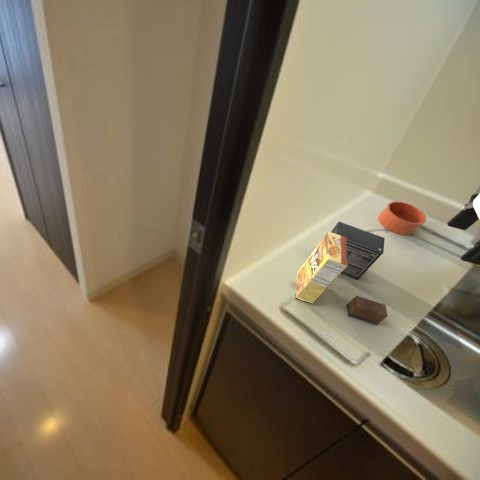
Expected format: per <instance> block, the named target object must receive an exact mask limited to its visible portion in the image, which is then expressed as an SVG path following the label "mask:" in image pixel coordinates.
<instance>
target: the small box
mask: <svg viewBox="0 0 480 480" xmlns="http://www.w3.org/2000/svg"><path fill="white" fill-rule="evenodd" d="M330 232H331V233H334V234H337V235H340V236H344V237H346V238H347V262H348V266H347V267H346V268H345V269H344V270H343V271H342V273H341V274H342V275H345V276H348V277H350V278H352V279H355V280H360V279H361V277H362V276H364V274H365V273H366V272H367V271H368V270H369V269H370V268H371V267H372V266H373V265H374V264H375V262H376V261H377V260H378V259H379V258H380V257H381V256H383V254H384V251H385V237H384V236H380V235H378V234H375V233H372V232H369V231H367V230H364V229H361V228H358V227H355V226H353V225H350V224H347V223H345V222H342V221H337V223H336V224H335V226H334V227H333V229H332V230H331V231H330Z"/></svg>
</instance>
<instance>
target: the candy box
mask: <svg viewBox="0 0 480 480" xmlns="http://www.w3.org/2000/svg"><path fill="white" fill-rule="evenodd" d="M347 266H348V262H347V238H346V237H344V236H340V235H337V234H334V233H331V231H328V232H327V233H326V234H325V235H324V236H323V238H322V239H321V241H320V242H319V243H318V244H317V246H316V247H315V248H314V250H313V251H312V252H311V253H310V255H309V256H308V258H307V259H306V260H305V261H304V262H303V264H302V266H301V267H300V268H299V269H298V271H297V272H296V280H295V291H296V297H298V298H301V299H303V300H305V301H308V302H311V303H312V304H314V302H315V301H316V300H317V299H318V298H319V297H320V296H321V295H322V294H323V293H324V292H325V291H326V290H327V289H328V288H329V286H330V285H331V284H332V283H333V282H334V281H335V280H336V279H337V278H338V277H339V276H340V275H341V274H342V271H343V270H344V269H345V268H346V267H347Z"/></svg>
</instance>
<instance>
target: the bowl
mask: <svg viewBox="0 0 480 480" xmlns="http://www.w3.org/2000/svg"><path fill="white" fill-rule="evenodd" d="M426 217H427V216H426V215H425V213H424V212H423V211H422V210H421V209H419V208H418V207H416V206H414V205H413V204H410V203H408V202H405V201H399V200H396V201H395V200H393V201H390V202H389V203H388V204H387V205H386V206H385V207H384V208H383V209H382V211H380V213H379V215H378V217H377V219H378V222H379V223H380V224H381V226H383V228H385V229H387V230H388V231H389V232H391V233H394V234H397V235H401V236H411V235H413V234H415V232H417V231H418V230H419V229H420V228H421V227H422V226H423V225H424V224H425V223H426V222H427V218H426Z"/></svg>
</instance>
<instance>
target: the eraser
mask: <svg viewBox="0 0 480 480" xmlns="http://www.w3.org/2000/svg"><path fill="white" fill-rule="evenodd" d="M346 311H347V316H348V317H351V318H354V319H356V320H359V321H363V322H365V323H369V324H371V325H374V326H377V325H379V324H380V323H382V322H383V320H384V321H385V319H387V317H388V316H389V315H388V312H387V311H388V310H387V304H384V303H381V302H378V301H375V300H371V299H369V298H365V297H362V296H360V295H356V296H354V297H353V298H352V299H351V300H350V301H349V302H348V303H347V304H346Z"/></svg>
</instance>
